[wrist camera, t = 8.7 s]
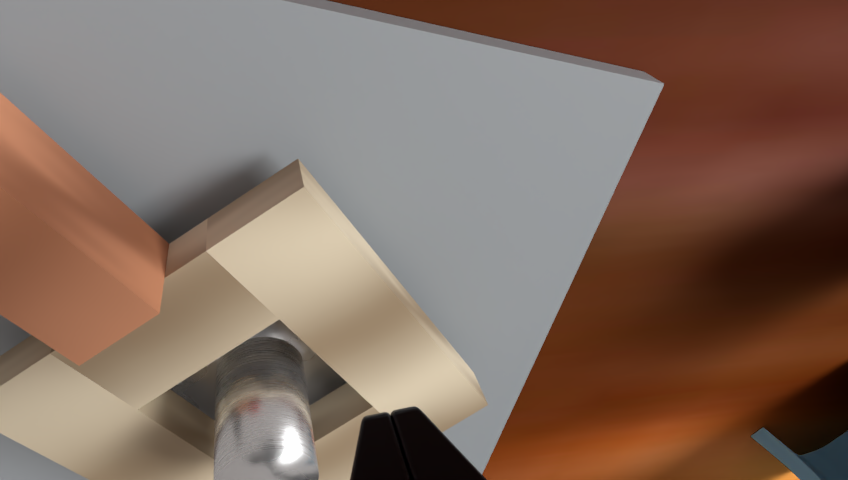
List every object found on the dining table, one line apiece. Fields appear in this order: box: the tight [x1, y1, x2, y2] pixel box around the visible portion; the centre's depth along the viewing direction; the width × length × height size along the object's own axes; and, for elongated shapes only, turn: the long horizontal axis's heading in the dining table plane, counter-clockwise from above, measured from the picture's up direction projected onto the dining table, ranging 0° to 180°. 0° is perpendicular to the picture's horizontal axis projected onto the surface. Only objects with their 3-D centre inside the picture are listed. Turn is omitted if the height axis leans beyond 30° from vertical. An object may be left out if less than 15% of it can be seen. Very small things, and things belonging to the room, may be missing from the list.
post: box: [170, 320, 345, 480], centre depth 19 cm, size 6×6×5 cm
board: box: [0, 0, 664, 480], centre depth 21 cm, size 23×22×1 cm
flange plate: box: [0, 93, 488, 480], centre depth 17 cm, size 17×11×3 cm, turn 29°
